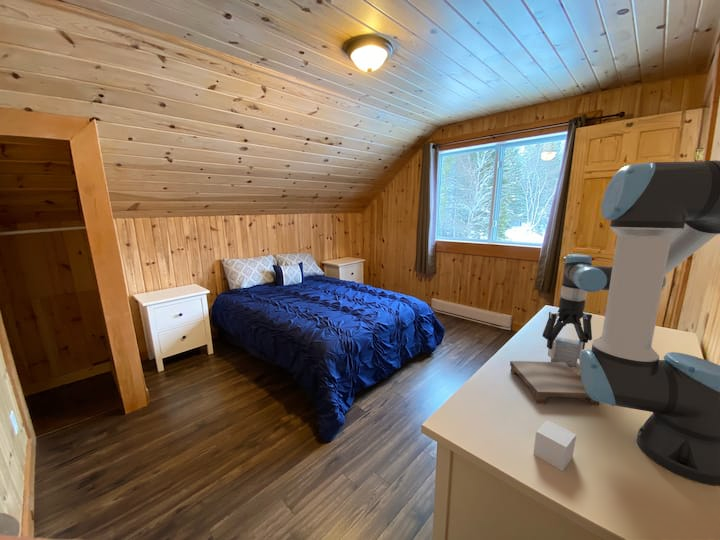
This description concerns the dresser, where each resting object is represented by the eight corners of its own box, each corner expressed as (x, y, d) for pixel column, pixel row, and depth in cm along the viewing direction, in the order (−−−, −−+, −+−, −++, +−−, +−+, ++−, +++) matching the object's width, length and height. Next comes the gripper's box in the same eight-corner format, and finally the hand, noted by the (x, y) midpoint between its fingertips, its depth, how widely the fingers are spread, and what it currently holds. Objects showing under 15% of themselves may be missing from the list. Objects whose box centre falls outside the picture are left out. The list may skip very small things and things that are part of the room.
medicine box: (575, 362, 112) (579, 340, 111) (576, 367, 109) (580, 344, 107) (550, 356, 117) (553, 335, 115) (550, 361, 113) (553, 339, 111)
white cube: (572, 457, 69) (576, 434, 68) (562, 471, 66) (566, 447, 65) (544, 442, 74) (547, 420, 73) (533, 454, 70) (536, 431, 69)
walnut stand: (600, 406, 87) (602, 393, 87) (536, 404, 88) (538, 391, 87) (562, 373, 105) (564, 362, 104) (509, 371, 106) (510, 361, 105)
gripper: (596, 295, 111) (587, 352, 116) (535, 294, 112) (528, 351, 116) (612, 301, 104) (601, 362, 108) (547, 300, 105) (539, 361, 109)
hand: (563, 356), depth 112 cm, fingers closed on medicine box, 9 cm apart
